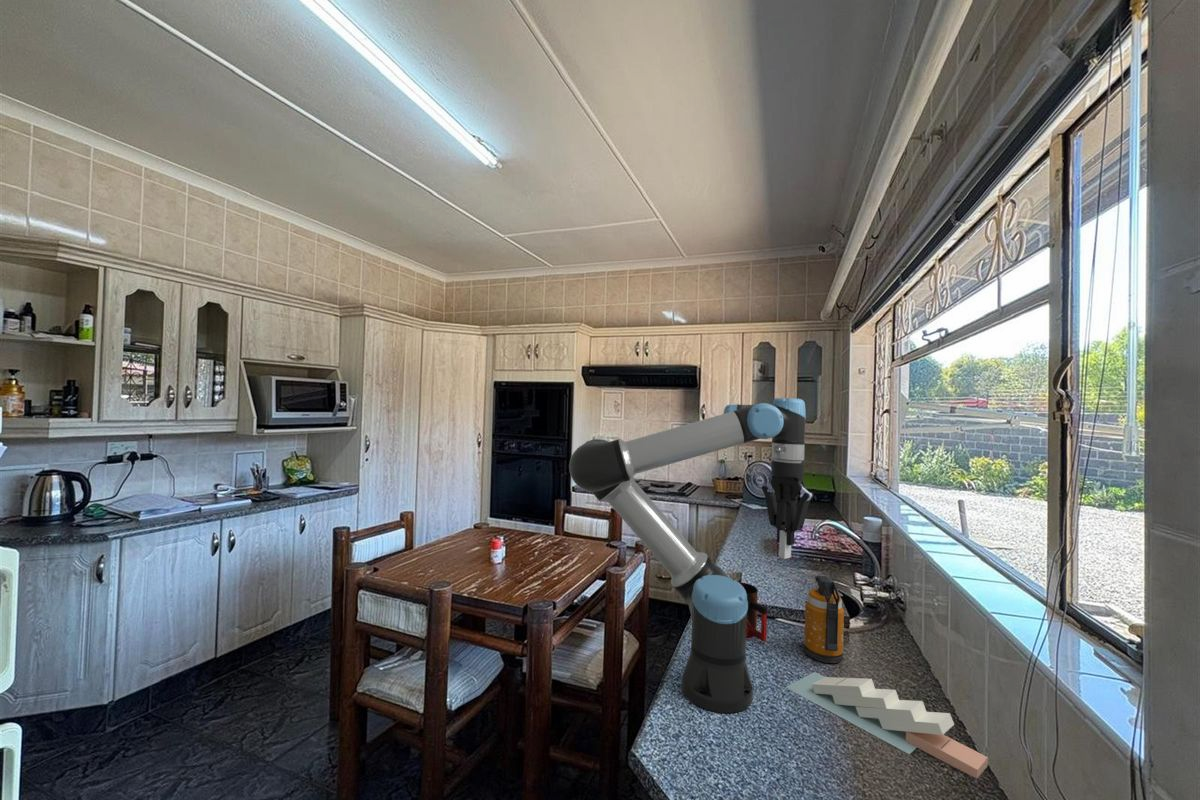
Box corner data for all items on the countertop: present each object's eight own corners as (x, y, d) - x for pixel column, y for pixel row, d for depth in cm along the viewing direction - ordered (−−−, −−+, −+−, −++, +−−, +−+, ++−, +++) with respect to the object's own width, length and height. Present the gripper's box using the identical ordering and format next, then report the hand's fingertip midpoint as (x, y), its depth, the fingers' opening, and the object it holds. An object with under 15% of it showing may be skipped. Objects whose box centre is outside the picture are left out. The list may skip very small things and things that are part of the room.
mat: (785, 688, 107) (785, 687, 107) (814, 673, 114) (814, 671, 114) (909, 755, 87) (909, 754, 87) (935, 732, 94) (935, 730, 94)
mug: (765, 647, 126) (766, 601, 127) (715, 631, 135) (717, 588, 135) (776, 634, 134) (777, 591, 134) (728, 620, 142) (730, 579, 143)
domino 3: (855, 706, 98) (910, 710, 90) (868, 698, 101) (922, 700, 93) (859, 717, 97) (914, 721, 89) (871, 708, 100) (926, 711, 92)
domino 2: (832, 694, 102) (883, 698, 94) (845, 686, 105) (895, 689, 97) (835, 704, 101) (886, 708, 93) (848, 696, 104) (899, 699, 96)
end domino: (906, 731, 90) (977, 769, 81) (918, 721, 93) (987, 757, 85) (905, 741, 90) (976, 780, 81) (917, 730, 93) (987, 767, 85)
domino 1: (811, 684, 106) (858, 686, 97) (824, 677, 109) (871, 678, 101) (814, 693, 105) (862, 696, 97) (827, 686, 108) (875, 688, 100)
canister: (834, 649, 126) (836, 573, 127) (852, 671, 115) (854, 588, 116) (799, 646, 127) (801, 570, 128) (813, 668, 116) (816, 585, 117)
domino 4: (878, 718, 94) (938, 723, 86) (891, 709, 97) (949, 713, 89) (882, 729, 94) (942, 735, 86) (895, 719, 97) (954, 724, 89)
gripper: (755, 458, 121) (753, 552, 120) (803, 464, 110) (801, 567, 110) (773, 457, 125) (770, 548, 125) (821, 463, 115) (818, 562, 114)
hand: (785, 557), depth 117 cm, fingers closed
